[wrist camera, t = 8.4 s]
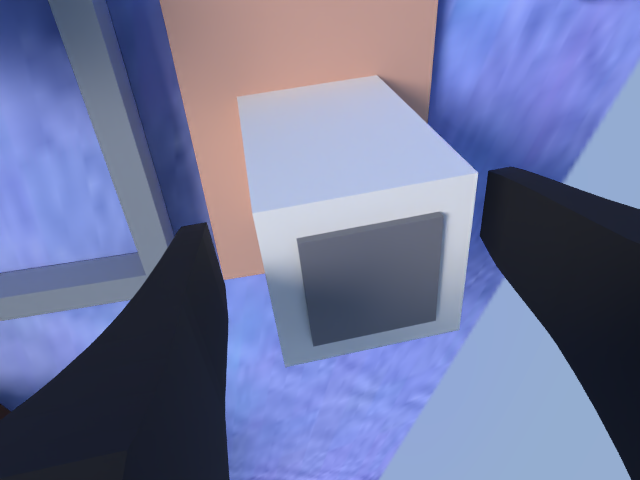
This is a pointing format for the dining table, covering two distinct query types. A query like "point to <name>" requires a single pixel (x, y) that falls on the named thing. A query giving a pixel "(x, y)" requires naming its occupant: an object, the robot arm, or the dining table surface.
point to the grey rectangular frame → (125, 170)
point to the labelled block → (355, 217)
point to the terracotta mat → (281, 81)
